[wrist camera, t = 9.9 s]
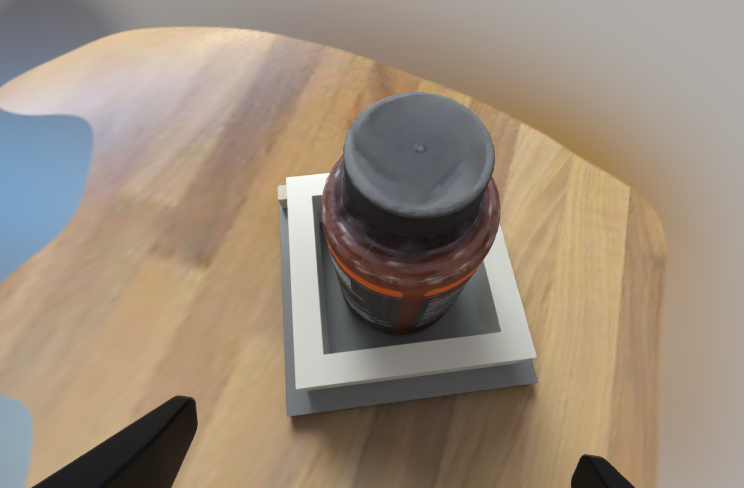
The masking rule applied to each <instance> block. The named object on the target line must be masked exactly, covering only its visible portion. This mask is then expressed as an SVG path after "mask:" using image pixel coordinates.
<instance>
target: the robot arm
mask: <svg viewBox="0 0 744 488" xmlns="http://www.w3.org/2000/svg"><path fill="white" fill-rule="evenodd" d="M197 425H198V421H197V412H196V402H195V400H194V398H192V397H187V396H175V397H173V398H171V399H170V400H168V401H167V402H165V403H163V404H162V405H160V406H159V407H157V408H156V409H154V410H152V411H151V412H149V413H148V414H146V415H145V416H143V417H142V418H140V419H138V420H137V421H135V422H134V423H132V424H131V425H129V426H127V427H126V428H124V429H123V430H121V431H120V432H118V433H116V434H115V435H113V436H112V437H110V438H109V439H107V440H105V441H104V442H102V443H101V444H99V445H98V446H96V447H95V448H93V449H91V450H90V451H88V452H87V453H85V454H84V455H82V456H80V457H79V458H77V459H76V460H74V461H73V462H71V463H69V464H68V465H66V466H65V467H63V468H62V469H60V470H58V471H57V472H55V473H54V474H52V475H51V476H49V477H48V478H46V479H44V480H43V481H41V482H40V483H38V484H37V485H35V486H33V487H32V488H171V487H172V485H173V483H174V481H175V478H176V476H177V474H178V472H179V469H180V467H181V465H182V463H183V460H184V458H185V456H186V454H187V451H188V449H189V447H190V445H191V442H192V440H193V438H194V436H195V433H196V430H197ZM571 488H635V487H634V486H633V485H632V484H631V483H630V482H629V481H628V480H627V479H626V478H624V477H623V476H622V475H621V474H620V473H619V472H618V471H617V470H616V469H615V468H614V467H613V466H612V465H611V464H610V463H609V462H608V461H607V460H606V459H604V458H603V457H600V456H594V455H587V454H585V455H583V456H581V458H580V460H579V462H578V465H577V467H576V469H575V472H574V474H573V476H572V480H571Z"/></svg>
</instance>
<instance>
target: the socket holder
mask: <svg viewBox="0 0 744 488" xmlns="http://www.w3.org/2000/svg"><path fill="white" fill-rule="evenodd" d="M329 174H330V173H326V174H317V175H307V176H297V177H288V178H286V183H287V185H280V186H278V200H279V208H280V236H281V264H282V292H283V320H284V348H285V376H286V404H287V417H289V416H296V415H304V414H311V413H319V412H326V411H333V410H341V409H348V408H356V407H363V406H371V405H378V404H385V403H393V402H400V401H408V400H415V399H422V398H430V397H437V396H445V395H452V394H460V393H467V392H474V391H482V390H489V389H497V388H504V387H512V386H519V385H526V384H534V383H538V381H537V377H536V374H535V370H534V366H533V363H532V359H533V358H537V356H536V353H535V349H534V345H533V342H532V338H531V335H530V331H529V327H528V324H527V320H526V317H525V313H524V309H523V306H522V302H521V299H520V295H519V291H518V288H517V284H516V281H515V277H514V273H513V270H512V266H511V263H510V259H509V255H508V252H507V248H506V245H505V241H504V237H503V234H502V230H501V227H500V223H499V227H498V232H497V234H496V237H495V240H494V243H493V245H492V247H491V249H490V251H489V253H488V254H487V256H486V257H485V259H484V260H483V261H482V263H481V264H480V266H479V267H478V269H477V270H476V272H475V273H474V274H473V276H472V277H471V278H470V280H469V281H468V283H467V284H466V285H465V287H464V288H463V290H462V291H461V292H460V294H459V295H458V297H457V298H456V299H455V301H454V302H453V304H452V305H451V306H450V308H449V309H448V311H447V312H446V313H445V314H444V315H443V316H442V317H441V318H440V319H439V320H438V321H437V322H436V323H435V324H433V325H432V326H430V327H428V328H427V329H425V330H423V331H421V332H418V333H415V334H411V335H390V334H385V333H381V332H378V331H375V330H373V329H371V328H370V327H368V326H367V325H365V324H363V323H362V322H361V321H360V320H359V319H358V318H357V317H356V316H355V315H354V314H353V313H352V311H351V310H350V308H349V307H348V305H347V303H346V301H345V299H344V297H343V294H342V291H341V288H340V284H339V282H338V277H337V274H336V271H335V267H334V263H333V261H332V258H331V254H330V251H329V247H328V244H327V240H326V236H325V232H324V228H323V222H322V211H321V203H322V195H323V190H324V186H325V183H326V179H327V177H328V176H329Z"/></svg>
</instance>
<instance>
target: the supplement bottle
mask: <svg viewBox="0 0 744 488" xmlns="http://www.w3.org/2000/svg"><path fill="white" fill-rule="evenodd" d="M494 163H495V153H494V145H493V143H492V139H491V136H490V133H489V132H488V130H487V128H486V127H485V126H484V124H483V123H482V122H481V120H480V119H479V118H478V116H476V115H475V114H474V113H473V112H472V111H471V110H469V109H468V108H466V107H465V106H464V105H462V104H460V103H458V102H457V101H455V100H453V99H450V98H447V97H444V96H441V95H437V94H432V93H425V92H409V93H403V94H395V95H392V96H389V97H387V98H383V99H381V100H379V101H377V102H375V103H373V104H372V105H371V106H369V107H368V108H367V109H365V110H364V111H363V112H362V113H361V114H360V115H359V116H358V117H357V118H356V120H355V122H353V123H352V124H351V126H350V129H349V132H348V133H347V135H346V139H345V142H344V148H343V155H342V156H341V157H340V158H339V160H338V161H337V162H336V164H335V165H334V167H333V168H332V170H331V172H330V174H329V176H328V177H327V179H326V183H325V186H324V190H323V195H322V203H321V211H322V222H323V228H324V232H325V236H326V240H327V244H328V247H329V251H330V254H331V258H332V261H333V263H334V267H335V271H336V274H337V277H338V282H339V284H340V288H341V291H342V294H343V297H344V299H345V301H346V303H347V305H348V307H349V308H350V310H351V311H352V313H353V314H354V315H355V316H356V317H357V318H358V319H359V320H360V321H361V322H362V323H363V324H365V325H367V326H368V327H370V328H371V329H373V330H375V331H378V332H381V333H385V334H390V335H411V334H415V333H418V332H421V331H423V330H425V329H427V328H428V327H430V326H432V325H433V324H435V323H436V322H437V321H438V320H439V319H440V318H441V317H442V316H443V315H444V314H445V313H446V312H447V311H448V309H449V308H450V306H451V305H452V304H453V302H454V301H455V299H456V298H457V297H458V295H459V294H460V292H461V291H462V290H463V288H464V287H465V285H466V284H467V283H468V281H469V280H470V278H471V277H472V276H473V274H474V273H475V272H476V270H477V269H478V267H479V266H480V264H481V263H482V261H483V260H484V259H485V257H486V256H487V254H488V253H489V251H490V249H491V247H492V245H493V243H494V240H495V237H496V234H497V232H498V227H499V221H500V200H499V193H498V190H497V186H496V183H495V181H494V179H493V177H492V173H493V170H494Z"/></svg>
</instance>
